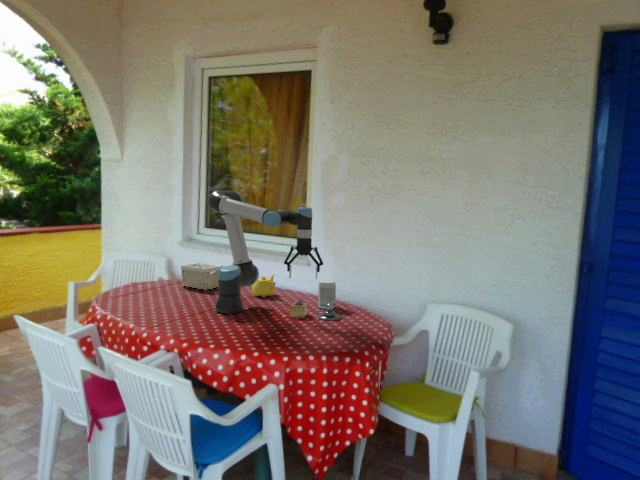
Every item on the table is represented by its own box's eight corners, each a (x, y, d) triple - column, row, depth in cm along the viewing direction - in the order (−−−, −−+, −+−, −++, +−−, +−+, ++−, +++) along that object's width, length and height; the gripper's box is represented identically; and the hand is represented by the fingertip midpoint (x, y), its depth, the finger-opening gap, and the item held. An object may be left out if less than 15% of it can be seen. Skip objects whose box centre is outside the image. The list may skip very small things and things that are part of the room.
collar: (290, 317, 252) (291, 305, 251) (293, 313, 259) (293, 302, 258) (304, 317, 251) (304, 306, 250) (306, 314, 258) (306, 303, 257)
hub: (316, 319, 247) (316, 306, 247) (319, 313, 259) (319, 300, 258) (339, 321, 246) (340, 307, 245) (342, 315, 258) (342, 302, 257)
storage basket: (179, 286, 316) (179, 264, 315) (198, 282, 330) (198, 261, 328) (205, 292, 303) (205, 268, 301) (224, 287, 316) (224, 265, 315)
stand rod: (296, 316, 254) (296, 301, 253) (297, 314, 256) (297, 300, 255) (300, 316, 253) (301, 302, 252) (301, 315, 256) (301, 301, 255)
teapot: (277, 298, 291) (278, 278, 290) (253, 299, 288) (253, 279, 286) (274, 292, 305) (274, 274, 303) (251, 293, 301) (251, 274, 300)
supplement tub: (338, 308, 271) (339, 282, 270) (324, 310, 266) (325, 283, 264) (328, 304, 279) (329, 279, 278) (314, 306, 274) (315, 280, 272)
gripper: (279, 237, 248) (278, 278, 251) (328, 239, 248) (327, 280, 251) (280, 235, 256) (279, 275, 258) (328, 237, 256) (327, 277, 258)
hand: (303, 278), depth 255 cm, fingers open, 13 cm apart
